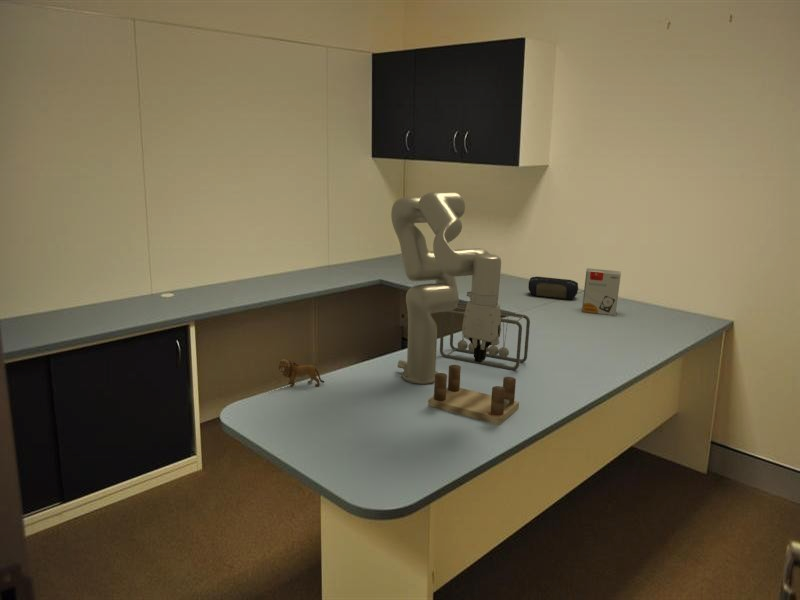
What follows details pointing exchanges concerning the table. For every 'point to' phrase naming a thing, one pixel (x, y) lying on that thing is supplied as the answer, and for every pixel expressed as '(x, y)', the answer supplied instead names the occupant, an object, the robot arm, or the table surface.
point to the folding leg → (503, 395)
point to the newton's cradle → (492, 349)
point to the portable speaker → (553, 287)
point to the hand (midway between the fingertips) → (479, 360)
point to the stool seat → (465, 399)
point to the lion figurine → (298, 371)
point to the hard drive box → (601, 291)
